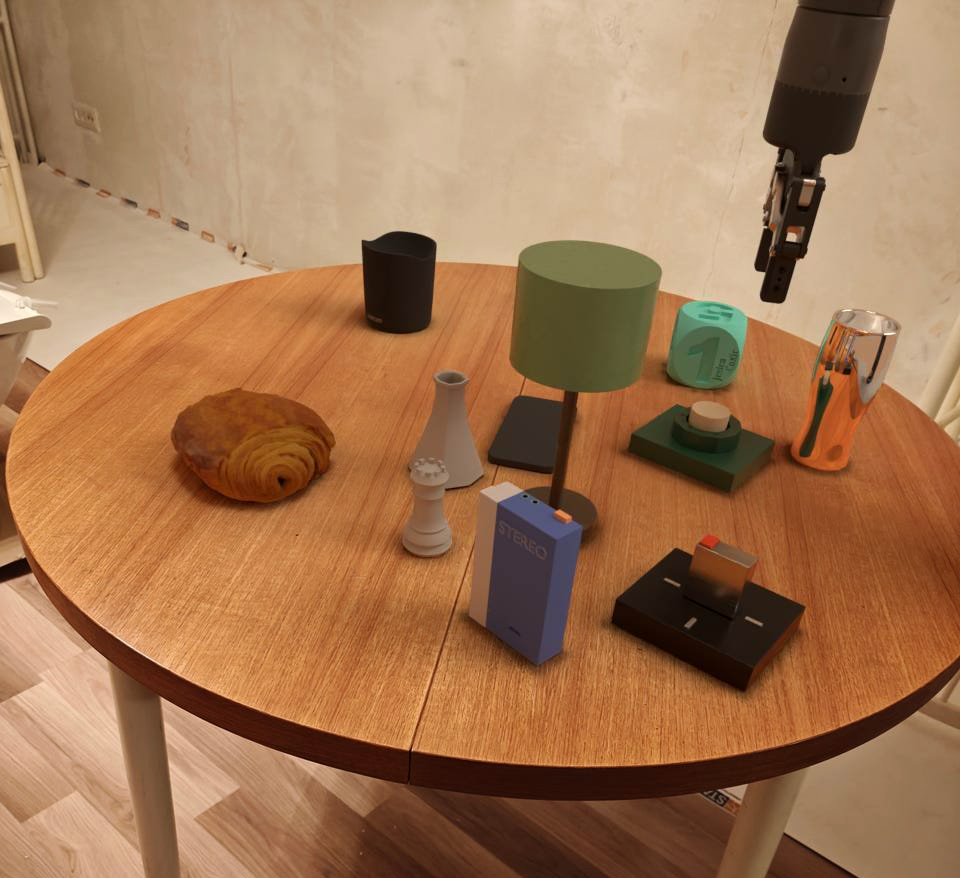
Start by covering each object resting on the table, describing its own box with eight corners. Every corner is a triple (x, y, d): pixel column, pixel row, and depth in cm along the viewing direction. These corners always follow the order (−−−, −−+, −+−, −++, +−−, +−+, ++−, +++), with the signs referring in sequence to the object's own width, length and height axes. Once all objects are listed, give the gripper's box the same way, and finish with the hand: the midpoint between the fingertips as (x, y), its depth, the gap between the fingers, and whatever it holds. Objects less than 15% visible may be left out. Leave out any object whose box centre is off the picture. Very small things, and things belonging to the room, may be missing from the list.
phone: (485, 455, 90) (515, 393, 101) (484, 463, 90) (514, 400, 101) (556, 468, 89) (579, 404, 100) (555, 476, 89) (578, 411, 100)
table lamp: (632, 521, 84) (688, 266, 68) (568, 571, 77) (613, 300, 62) (538, 479, 89) (570, 231, 73) (470, 522, 82) (489, 259, 66)
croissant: (217, 541, 80) (208, 470, 74) (157, 444, 88) (144, 374, 82) (359, 498, 87) (361, 430, 81) (291, 412, 94) (289, 344, 89)
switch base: (770, 459, 95) (781, 425, 93) (729, 493, 89) (739, 458, 86) (672, 421, 100) (680, 388, 98) (627, 451, 94) (634, 417, 92)
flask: (395, 466, 88) (396, 371, 82) (451, 447, 92) (456, 354, 86) (439, 498, 84) (444, 401, 78) (497, 477, 88) (505, 382, 82)
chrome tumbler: (773, 452, 96) (817, 316, 87) (808, 435, 100) (853, 302, 90) (829, 480, 93) (881, 340, 83) (863, 461, 96) (917, 325, 87)
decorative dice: (665, 384, 108) (680, 319, 103) (666, 359, 114) (680, 296, 109) (731, 394, 107) (749, 329, 102) (729, 367, 113) (745, 305, 108)
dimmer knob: (742, 609, 70) (760, 555, 67) (732, 619, 69) (750, 565, 66) (692, 585, 72) (707, 531, 69) (681, 595, 71) (696, 541, 68)
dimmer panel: (796, 630, 73) (807, 604, 71) (744, 692, 67) (754, 666, 65) (669, 570, 78) (676, 545, 76) (610, 623, 72) (615, 597, 70)
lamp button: (732, 425, 93) (737, 409, 92) (715, 437, 90) (719, 422, 89) (699, 412, 94) (702, 397, 93) (681, 424, 92) (684, 408, 91)
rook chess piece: (394, 552, 77) (394, 472, 72) (412, 526, 81) (414, 447, 75) (442, 564, 76) (446, 483, 71) (458, 537, 80) (463, 458, 75)
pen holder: (359, 308, 120) (358, 230, 113) (428, 308, 121) (431, 231, 115) (365, 335, 113) (364, 254, 106) (438, 335, 115) (441, 255, 108)
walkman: (561, 651, 69) (584, 521, 61) (537, 666, 67) (557, 535, 59) (492, 602, 73) (505, 474, 65) (467, 615, 71) (478, 486, 64)
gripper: (887, 100, 65) (817, 319, 75) (859, 71, 76) (801, 267, 86) (784, 88, 66) (729, 307, 76) (770, 62, 76) (724, 257, 87)
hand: (767, 285), depth 81 cm, fingers open, 8 cm apart
